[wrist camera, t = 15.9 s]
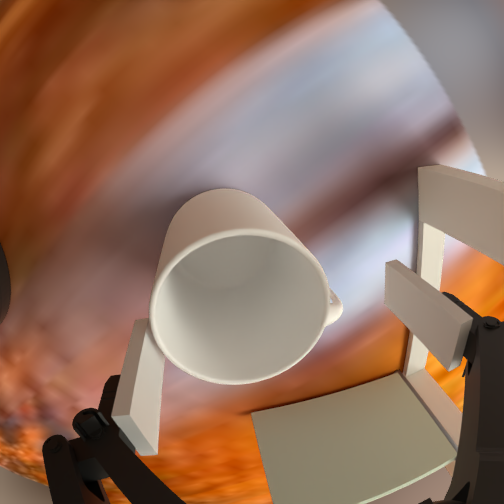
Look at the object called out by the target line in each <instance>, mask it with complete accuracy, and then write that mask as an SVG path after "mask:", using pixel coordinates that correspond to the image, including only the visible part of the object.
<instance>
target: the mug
mask: <svg viewBox="0 0 504 504" xmlns="http://www.w3.org/2000/svg"><path fill="white" fill-rule="evenodd" d="M330 298H331V299H332V302H333V303H330ZM342 311H343V305H342V302H341V301H340V299H339V298H338V297H337V295H336V294H335V293H334V292H333V291H332V290H331V289H330V288H329V284H328V281H327V277H326V275H325V273H324V271H323V268H322V267H321V265H320V264H319V262H318V261H317V259H316V258H315V257H314V256H313V255H312V254H311V252H310V251H309V250H308V249H307V248H306V247H305V246H304V245H303V244H302V243H301V242H300V241H299V239H298V238H297V237H296V236H295V235H294V234H293V233H292V232H291V231H290V230H289V229H288V228H287V227H286V226H285V225H284V223H283V222H282V221H281V220H280V219H279V218H278V217H277V216H276V215H275V214H274V213H273V212H272V211H271V210H270V209H269V208H268V207H267V206H266V205H265V204H264V203H263V202H262V201H260V200H259V199H258V198H256V197H254V196H252V195H251V194H248V193H246V192H244V191H240V190H236V189H214V190H210V191H206V192H203V193H201V194H199V195H196V196H195V197H193V198H191V199H190V200H189V201H187V202H186V203H185V204H184V205H183V206H182V207H181V208H180V209H179V210H178V211H177V213H176V214H175V215H174V217H173V219H172V221H171V223H170V225H169V227H168V230H167V233H166V236H165V240H164V244H163V248H162V251H161V255H160V259H159V263H158V267H157V271H156V275H155V279H154V283H153V287H152V292H151V296H150V302H149V321H150V327H151V330H152V333H153V336H154V338H155V340H156V342H157V344H158V346H159V348H160V349H161V351H162V352H163V353H164V355H165V356H166V357H167V358H168V359H169V360H170V361H171V362H172V363H173V364H174V365H176V366H177V367H178V368H179V369H181V370H182V371H184V372H186V373H187V374H189V375H191V376H194V377H196V378H198V379H201V380H204V381H208V382H212V383H217V384H226V385H238V384H248V383H254V382H259V381H262V380H265V379H268V378H271V377H273V376H276V375H278V374H280V373H282V372H284V371H286V370H287V369H289V368H291V367H292V366H294V365H295V364H296V363H298V362H299V361H300V360H301V359H302V358H303V357H304V356H305V355H306V354H307V353H308V352H309V351H310V350H311V349H312V348H313V347H314V345H315V344H316V343H317V341H318V339H319V338H320V336H321V334H322V332H323V330H324V328H325V326H327V325H330V324H332V323H333V322H335V321H336V320H337V319H338V318H339V317H340V316H341V314H342Z"/></svg>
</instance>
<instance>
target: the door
mask: <svg viewBox="0 0 504 504" xmlns="http://www.w3.org/2000/svg"><path fill="white" fill-rule="evenodd" d="M251 416H252V421H253V425H254V429H255V434H256V438H257V442H258V446H259V450H260V454H261V458H262V462H263V466H264V470H265V474H266V478H267V482H268V486H269V490H270V493H271V497H272V501H273V504H366V503H368V502H371V501H373V500H376V499H378V498H381V497H383V496H385V495H388V494H390V493H392V492H395V491H397V490H399V489H401V488H403V487H406V486H408V485H410V484H412V483H414V482H416V481H418V480H420V479H422V478H424V477H425V476H428V475H429V474H431V473H433V472H435V471H437V470H438V469H440V468H442V467H444V466H446V465H447V464H449V463H451V462H452V461H454V460H455V461H456V456H457V451H458V446H457V445H456V444H455V442H454V441H453V439H452V438H451V437H450V435H449V434H448V433H447V431H446V430H445V429H444V427H443V426H442V425H441V423H440V422H439V421H438V419H437V418H436V417H435V415H434V414H433V413H432V411H431V410H430V409H429V407H428V406H427V405H426V403H425V402H424V401H423V399H422V398H421V397H420V395H419V394H418V393H417V392H416V390H415V389H414V388H413V386H412V385H411V384H410V382H409V381H408V380H407V379H406V377H405V376H404V375H403V373H402V372H401V371H400V370H396V371H395V372H394V374H392V375H389V376H386V377H384V378H381V379H378V380H375V381H372V382H369V383H366V384H363V385H360V386H357V387H353V388H350V389H347V390H343V391H340V392H337V393H333V394H330V395H326V396H322V397H319V398H315V399H311V400H307V401H303V402H299V403H295V404H290V405H286V406H282V407H277V408H272V409H267V410H262V411H257V412H252V413H251Z"/></svg>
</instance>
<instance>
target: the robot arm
mask: <svg viewBox="0 0 504 504" xmlns="http://www.w3.org/2000/svg"><path fill="white" fill-rule="evenodd" d="M10 295H11V288H10V277H9V271H8V266H7V262H6V258H5V255H4V252H3V249H2V246H1V243H0V324H1V323H2V321H3V320H4V318H5V317H6V314H7V312H8V309H9V304H10ZM384 304H385V305H386V306H387V307H388V308H389V309H390V310H391V311H392V312H393V313H394V314H395V315H396V316H397V317H398V318H399V319H400V320H401V321H402V322H403V323H404V324H405V325H406V327H407V328H408V329H409V330H410V331H411V332H412V333H413V334H414V335H415V336H416V337H417V338H418V339H419V340H420V341H421V342H422V343H423V344H424V345H425V347H426V348H427V349H428V350H429V351H430V352H431V353H432V354H433V355H434V356H435V357H436V358H437V359H438V361H439V362H440V363H441V364H442V365H443V366H444V367H445V368H446V369H447V370H448V371H450V370H452V369H454V368H456V367H458V366H460V364H461V361H462V358H463V356H464V357H465V358H466V359H467V363H466V366H465V369H464V372H463V375H462V377H464V376H465V392H464V404H463V414H462V423H461V431H460V438H459V445H458V451H457V456H456V462H455V467H454V472H453V477H452V481H451V485H450V487H449V490H448V492H447V494H446V496H445V499H444V500H442V501H435V502H432V500H431V499H430V498H428V499H427V500H425V501H423V502H421V503H419V504H504V322H500V321H499V320H498V319H496V318H494V317H490V316H485V317H481V316H480V315H478V314H477V313H476V312H474V311H473V310H472V309H471V308H469V307H468V306H467V305H465V304H464V303H463V302H462V301H460V300H459V299H458V298H456V297H455V296H454V295H452V294H449V293H447V292H442V293H441V292H440V291H438V290H437V289H436V288H434V287H433V286H432V285H430V284H429V283H428V282H426V281H425V280H424V279H422V278H421V277H420V276H418V275H417V274H416V273H414V272H413V271H412V270H410V269H409V268H408V267H406V266H405V265H403V264H402V263H401V262H399V261H398V260H393V261H389V262H386V267H385V300H384ZM164 363H165V356H164V354H163V352H162V351H161V349H160V348H159V346H158V344H157V342H156V340H155V338H154V336H153V333H152V330H151V327H150V321H149V318H144V319H139V320H135V324H134V327H133V331H132V334H131V338H130V341H129V345H128V349H127V352H126V356H125V360H124V364H123V368H122V372H121V375H113V376H110V378H109V379H108V380H107V382H106V383H105V386H104V389H103V394H102V396H101V400H100V404H99V408H98V410H97V409H94V408H87V409H84V410H82V411H80V412H79V413H78V414H77V415H76V416H75V417H74V419H73V423H72V425H73V429H74V430H75V431H76V432H77V434H78V435H79V436H80V437H79V438H76V439H73V440H69V441H68V440H67V439H66V438H65V437H63V436H62V435H53V436H51V437H49V438H48V439H47V440H46V441H45V442H44V445H43V448H42V452H43V458H44V464H45V469H46V475H47V480H48V484H49V488H50V493H51V497H52V501H53V504H110V502H109V499H108V497H107V494H106V492H105V489H104V487H103V484H102V482H101V479H104V478H108V477H110V478H111V479H112V480H113V482H114V483H115V484H116V485H117V487H118V488H119V489H120V490H121V492H122V493H123V494H124V495H125V496H126V497H127V499H128V500H129V501H130V502H131V503H132V504H186V503H185V502H184V501H183V500H181V499H180V498H179V497H178V496H177V495H176V494H175V493H174V492H172V491H171V490H170V489H169V488H168V487H167V486H166V485H165V484H164V483H163V482H162V481H161V480H160V479H159V478H158V477H157V476H156V475H155V474H154V473H153V472H152V471H151V470H150V469H149V468H148V467H147V466H146V465H145V464H144V463H143V462H142V461H141V460H140V459H139V458H138V457H137V456H136V455H135V449H136V450H137V451H138V453H139V454H140V455H141V456H144V455H158V438H159V422H160V408H161V395H162V384H163V373H164Z"/></svg>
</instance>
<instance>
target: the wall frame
mask: <svg viewBox="0 0 504 504" xmlns="http://www.w3.org/2000/svg"><path fill="white" fill-rule="evenodd" d="M418 192H419V226H418V253H417V270H416V274H417V275H418V276H420V277H421V278H422V279H424V280H425V281H426V282H428V283H429V284H430V285H432V286H433V287H434V288H436V289H437V290H438V291H439V289H440V281H441V273H442V264H443V253H444V240H445V233H446V234H448V235H449V236H451V237H453V238H455V239H457V240H459V241H461V242H463V243H465V244H466V245H468V246H470V247H472V248H474V249H476V250H477V251H479V252H481V253H483V254H485V255H486V256H488V257H490V258H492V259H493V260H495V261H497V262H499V263H500V264H502V265H504V182H503V181H500V180H496V179H493V178H490V177H486V176H483V175H479V174H475V173H472V172H468V171H464V170H460V169H456V168H452V167H448V166H444V165H433V166H425V167H418ZM428 351H429V350H428V349H427V348H426V347H425V345H424V344H423V343H422V342H421V341H420V340H419V339H418V338H417V337H416V336H415V335H414V334H413V333H412V332H411V331H410V334H409V340H408V346H407V352H406V358H405V364H404V369H403V375H404V376H405V377H406V379H407V380H408V381H409V382H410V384H411V385H412V386H413V388H414V389H415V390H416V392H417V393H418V394H419V395H420V397H421V398H422V399H423V401H424V402H425V403H426V405H427V406H428V407H429V409H430V410H431V411H432V413H433V414H434V415H435V417H436V418H437V419H438V421H439V422H440V423H441V425H442V426H443V427H444V429H445V430H446V431H447V433H448V434H449V435H450V437H451V438H452V439H453V441H454V442H455V444H456V445H457V446H458V445H459V438H460V431H461V423H462V413H461V411H460V410H459V409H458V408H457V407H456V405H455V404H454V403H453V402H452V400H451V399H450V398H449V397H448V396H447V394H446V393H445V392H444V391H443V390H442V388H441V387H440V386H439V385H438V384H437V383H436V381H435V380H434V379H433V378H432V377H431V375H430V374H429V373H428V372H427V371H426V370H425V369H424V368H425V364H426V360H427V355H428ZM455 462H456V461H455V460H454V461H452V462H451V463H449V464H447V465H446V466H445V468H446V469H447V471H448V472H449V474H450V475H451V477H452V476H453V472H454V467H455Z"/></svg>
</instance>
